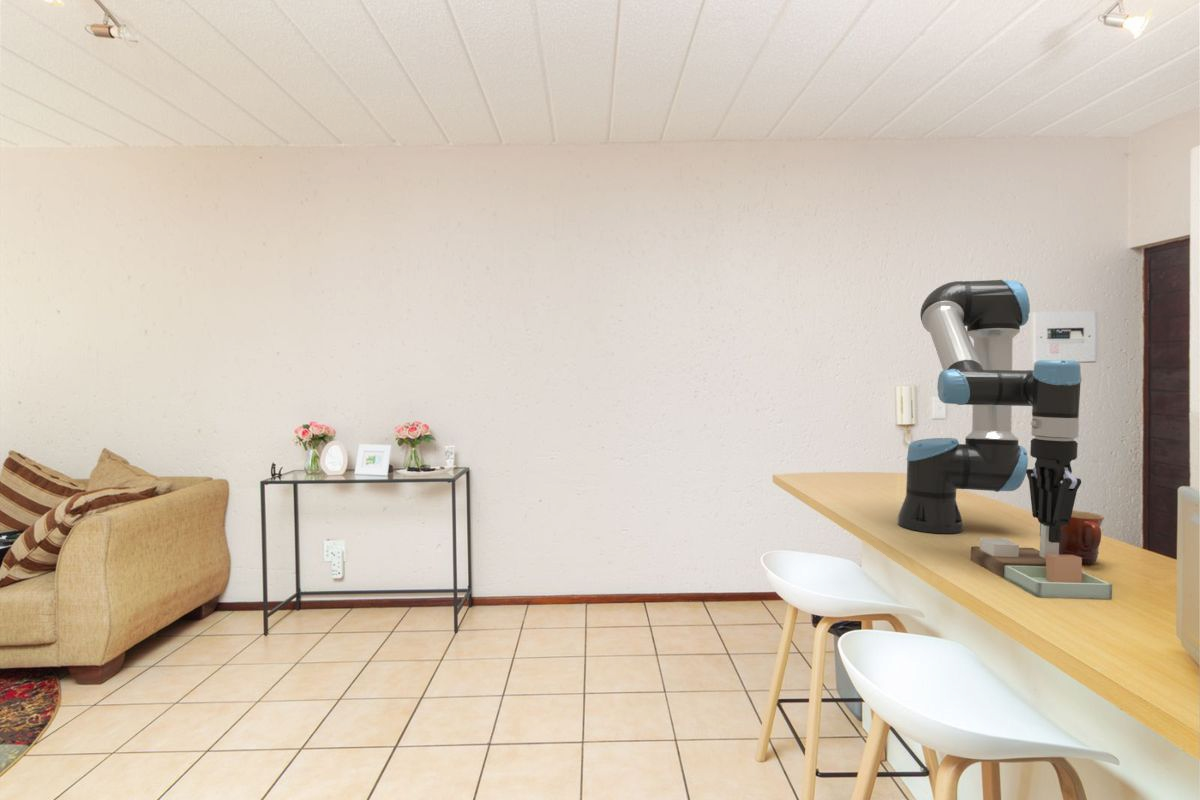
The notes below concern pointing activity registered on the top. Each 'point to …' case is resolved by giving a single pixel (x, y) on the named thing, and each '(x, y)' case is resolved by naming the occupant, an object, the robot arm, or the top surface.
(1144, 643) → the top surface
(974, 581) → the top surface
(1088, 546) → the mug
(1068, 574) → the tile terracotta
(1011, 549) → the tile white
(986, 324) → the robot arm
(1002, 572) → the board
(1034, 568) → the tray
